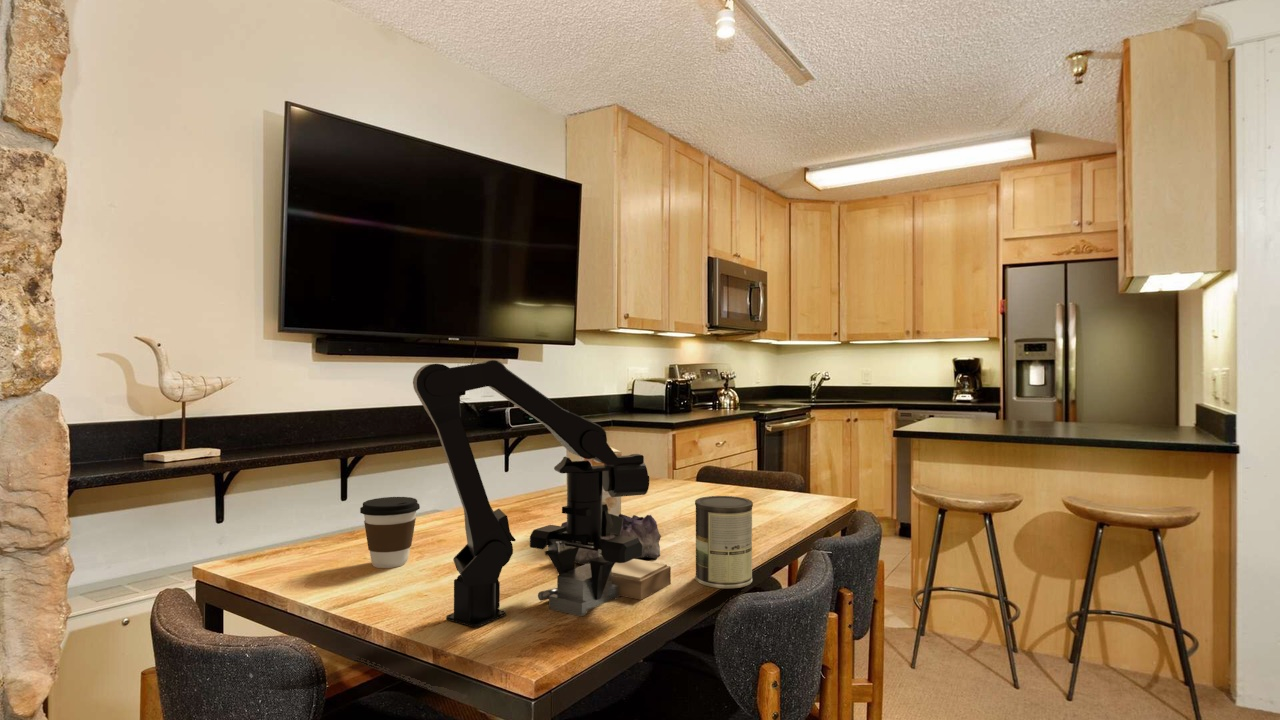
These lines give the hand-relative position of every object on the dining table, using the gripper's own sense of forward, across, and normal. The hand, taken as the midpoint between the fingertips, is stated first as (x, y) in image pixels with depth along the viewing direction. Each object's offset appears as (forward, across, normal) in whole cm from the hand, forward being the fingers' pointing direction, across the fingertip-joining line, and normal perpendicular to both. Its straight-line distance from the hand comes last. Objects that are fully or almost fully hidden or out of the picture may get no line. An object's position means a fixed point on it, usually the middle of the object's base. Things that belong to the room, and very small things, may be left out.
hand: (584, 596), depth 110 cm
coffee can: (+1, -14, -23) cm, 27 cm away
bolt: (0, +6, +2) cm, 6 cm away
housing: (+1, 0, 0) cm, 1 cm away
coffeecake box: (+1, +25, -40) cm, 47 cm away
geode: (+1, +11, -24) cm, 27 cm away
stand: (+1, -1, -11) cm, 11 cm away
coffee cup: (+1, +45, +2) cm, 45 cm away
